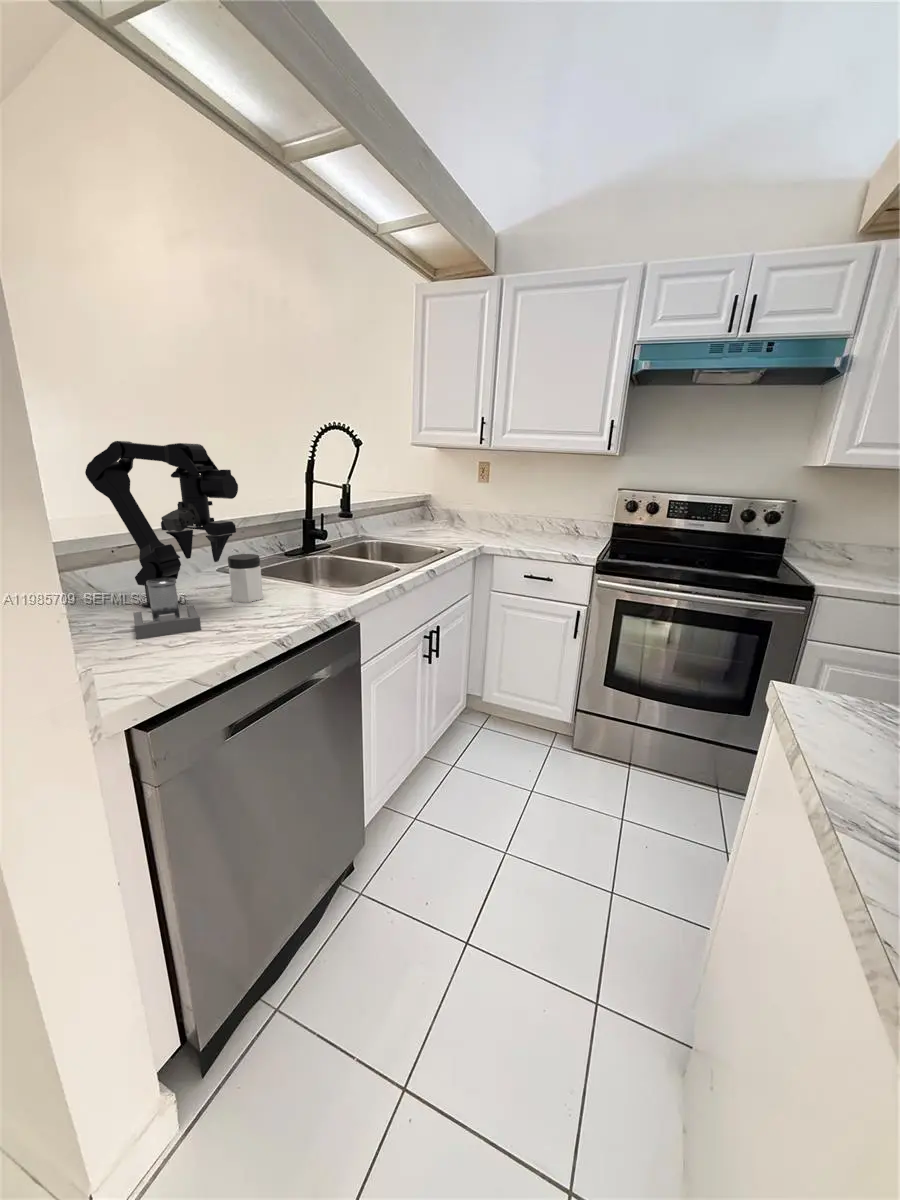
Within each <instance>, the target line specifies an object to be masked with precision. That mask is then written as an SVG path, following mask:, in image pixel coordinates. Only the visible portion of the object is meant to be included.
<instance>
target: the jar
mask: <svg viewBox="0 0 900 1200" xmlns="http://www.w3.org/2000/svg"><path fill="white" fill-rule="evenodd" d="M227 566H228V571H229V572H228V573H229V574H228V575H229V583H230V584H229V585H230V591H231V600H232V602H233V603H246V602H249V603H252V601H253V602H257V601H260V599H261V600H264V594H263V593H264V592H263V580H262V579H263V578H262V571H261V570H262V569H261V559H260V556H259V555H258V554H254V553H241V554H240V553H239V554H232V555H229V556H228V557H227ZM256 600H257V601H256Z"/></svg>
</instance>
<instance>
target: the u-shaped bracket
mask: <svg viewBox="0 0 900 1200" xmlns="http://www.w3.org/2000/svg"><path fill="white" fill-rule="evenodd" d="M185 607H186V613H187V616H184V617H180V618H177V619H175V613H172V614H164V615H159V618H160V621H154V622H153V621H147V622H144V620H143V619H144V618H143V614H142V611H136V612H135V611H134V612H133V621H134V630H135V635H136V636H135V637H136V640H141V639H148V638H154V637H155V638H157V637H162V636H169V635H175V634H182V633H183V634H184V633H189V632H195V631H202V626H201V625H202V624H201V617H200V616H199V613H198V611H197V609H196V607H195V605H193V604H192V605H186V606H185Z"/></svg>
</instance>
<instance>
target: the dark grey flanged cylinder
mask: <svg viewBox="0 0 900 1200" xmlns="http://www.w3.org/2000/svg"><path fill="white" fill-rule="evenodd" d="M176 584H177V579H175V578H155V579H150V580H148V581H146V585H147V586H148V591H149V598H150V605H151V607H150V610H151V611H150V612H151V617H152V622H154V621H160V618H159V615H164V614H172V613H175V619H177V618H181V615H180V607H179V603H178V601H179V600H178V593H177V585H176Z"/></svg>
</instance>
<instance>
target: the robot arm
mask: <svg viewBox="0 0 900 1200" xmlns="http://www.w3.org/2000/svg"><path fill="white" fill-rule="evenodd" d="M135 459H136V460H146V461H156V462H163V463H166V464H168V465H170V466H172V467H176V469H175V470H174V471H173V472H172V473H171V474H170V477H171V478H173V479H174V478H175V479H176V478H177V479H179V485H180V486H179V487H180V493H181V501H177V503H176V504H177V509H175V510H172V511H170V512H168V513H167V514H165V515H163V516H161V518H160V519H161V522H160V527H161V531H165V533H166V534H167V535H169V536H171V537H173V538H174V539H175V540H176V542H177V544H178V546H179V548H180V549H181V551H182V553H183V555H184V557H185V559H187V560H188V559H191V558H192V550H193V549H192V548H193V538H194V537H193V534H194V530H200V531H205V532H206V534H207V535H205V538H206V539H207V540H208V541H209V542H210V547H211V553H212V559H213V562H214V563H217V562H219V561H220V559H221V557H222V553H223V551H224V549H225V545H226V544H227V542H228V541H229V539H230V537H232V536H233V534H235V533H237V529H236V524H235V523H234V522H233V521H231V520H217V521H215V517H212V516H211V513H210V506H213V501H212V500H209V498H210V499H226V500H227V499H229V500H233V499H235V498H236V497H237V495H238V491H239V484H238V482H237V479H236V478H235V477H234V475H232V471H231V469H219V468H218V466H216V464H215V463H214V461H213V460H212V459H211V457H210V456H209V455H208V452H207V450H206V448H205V447H204V445H202V444H200V443H187V442H185V443H184V442H183V443H181V442H176V443H169V444H164V445H159V444H150V443H149V444H148V443H140V442H139V443H137V442H131V441H127V440H115V441H112V442H110V444H109V445H108V447H107V448H105V450H103V451H101V452H99V453H98V454H97V455H95V456H93V458H92V460H91V461H89V462H88V464H87V465H86V468H85V472H84V473H85V476H86V478H87V480H88V482H89V483H90V484H91V485H92V487H93V488H94V489H95V490H96V491H97V492H99V493H101V494H102V495H103V496H105V497H107V498H108V499H109V501H110V502H111V504H112V505H113V507H114V509H115V510H116V512H117V514H118V516H119V517H120V518H121V521H122V522H123V524H124V525H125V527H126V529H127V530H128V532H129V534H130V536H131V537H132V539H133V540H134V542H135V544H136V546H137V547H138V549H139V563H140V566H141V569H140V570H139V572H137V574H136V575H135V576H134V579H135V582H136V583H137V585H138V586H144V591H145V596H146V602H145V603H144V602H143V603H141V606H142V607H147V608H151V605H150V598H149V591H148V586H147V585H146V581H148V580H150V579H155V578H175V579H176V580H177V579H178V577H179V572H180V570H181V566H182V564H181V563H182V561H181V560H180V558H181V557H180V555H179V554H178V553H177V551H176V549H175V547H174V546H173V544H172V543H169V544H164V543H163V542H161V541H160V539H159V538H158V536H157V534H156V533H155V531H154V529H153V528H152V526H151V524H150V522H149V521H148V519H147V518H146V516H145V515H144V513H143V511H142V509H141V508H140V506H139V504H138V503H137V501H136V499H135V498H134V496H133V494H132V493H131V479H130V476H129V473H130V472H131V471H132V469H133V468H134V467H133V466H134V460H135ZM180 603H181V601H180V600H178V604H180Z"/></svg>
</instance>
